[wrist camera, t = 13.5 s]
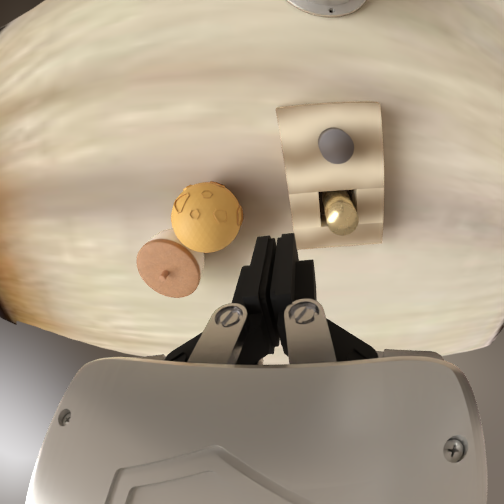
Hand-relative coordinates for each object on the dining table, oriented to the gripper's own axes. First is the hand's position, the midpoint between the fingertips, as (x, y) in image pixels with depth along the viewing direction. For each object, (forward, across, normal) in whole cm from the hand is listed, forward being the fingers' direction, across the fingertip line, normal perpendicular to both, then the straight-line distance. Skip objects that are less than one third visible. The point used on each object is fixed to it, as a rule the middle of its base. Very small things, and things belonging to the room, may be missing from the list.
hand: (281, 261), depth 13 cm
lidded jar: (+28, +21, +14) cm, 38 cm away
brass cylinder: (+28, -5, +9) cm, 30 cm away
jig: (+28, -5, +5) cm, 29 cm away
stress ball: (+28, +13, +8) cm, 32 cm away
